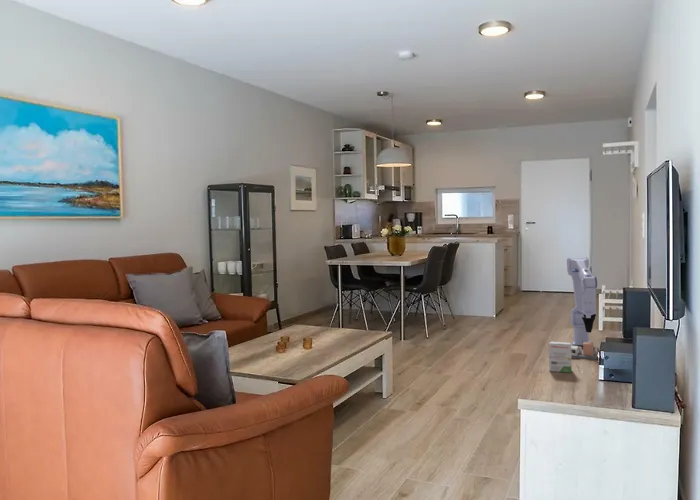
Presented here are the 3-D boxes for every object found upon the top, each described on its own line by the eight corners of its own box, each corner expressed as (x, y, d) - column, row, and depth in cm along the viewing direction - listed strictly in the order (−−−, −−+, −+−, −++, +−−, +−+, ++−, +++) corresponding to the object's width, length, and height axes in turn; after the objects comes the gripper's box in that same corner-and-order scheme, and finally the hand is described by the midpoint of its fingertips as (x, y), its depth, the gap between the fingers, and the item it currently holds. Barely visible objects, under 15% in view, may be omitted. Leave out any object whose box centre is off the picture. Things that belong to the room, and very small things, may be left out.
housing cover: (566, 351, 272) (566, 345, 272) (578, 352, 270) (578, 345, 270) (565, 354, 267) (565, 347, 267) (577, 355, 265) (577, 348, 265)
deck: (566, 350, 279) (566, 342, 278) (598, 352, 273) (598, 344, 272) (563, 357, 266) (563, 348, 266) (597, 359, 260) (597, 350, 260)
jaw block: (583, 352, 269) (583, 342, 269) (593, 353, 267) (593, 342, 267) (583, 354, 266) (583, 343, 265) (592, 355, 264) (592, 344, 264)
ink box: (571, 370, 244) (571, 342, 243) (570, 373, 239) (570, 344, 239) (550, 368, 247) (550, 340, 247) (549, 371, 243) (548, 343, 242)
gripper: (581, 299, 283) (581, 327, 283) (578, 304, 270) (579, 333, 270) (596, 300, 280) (596, 328, 280) (595, 304, 267) (595, 334, 267)
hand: (589, 330), depth 275 cm, fingers open, 7 cm apart
